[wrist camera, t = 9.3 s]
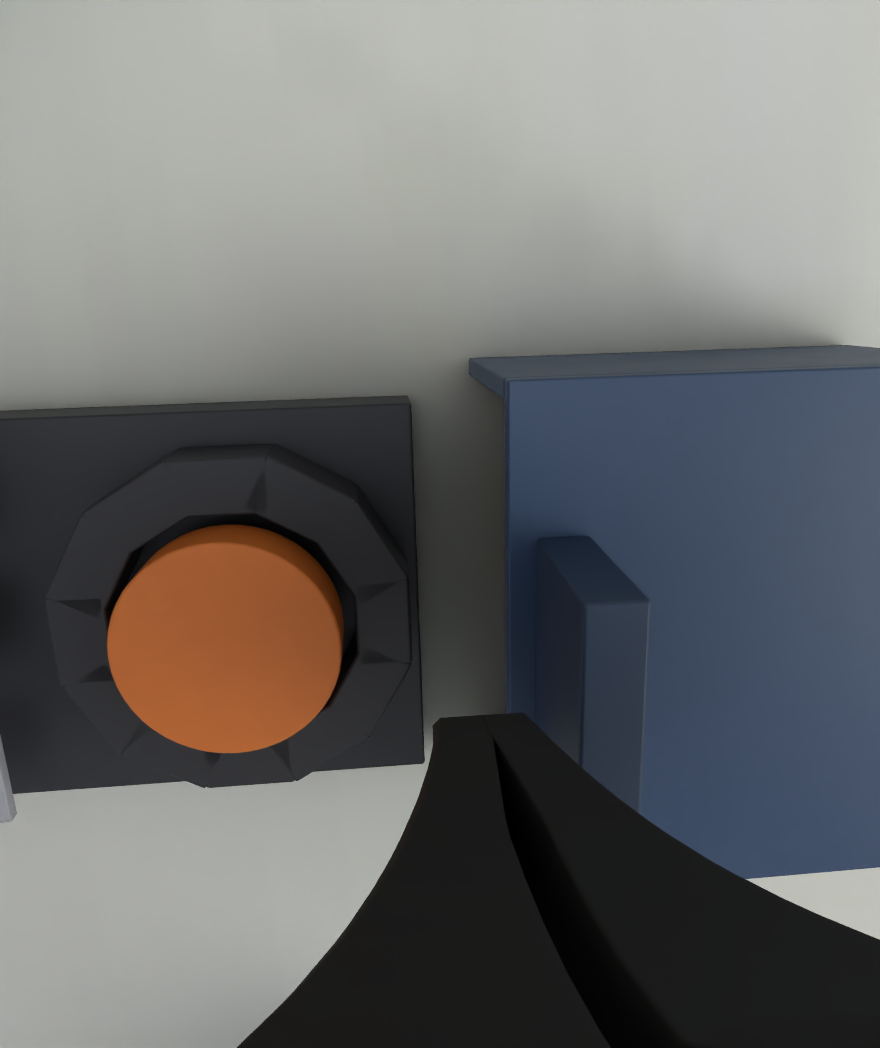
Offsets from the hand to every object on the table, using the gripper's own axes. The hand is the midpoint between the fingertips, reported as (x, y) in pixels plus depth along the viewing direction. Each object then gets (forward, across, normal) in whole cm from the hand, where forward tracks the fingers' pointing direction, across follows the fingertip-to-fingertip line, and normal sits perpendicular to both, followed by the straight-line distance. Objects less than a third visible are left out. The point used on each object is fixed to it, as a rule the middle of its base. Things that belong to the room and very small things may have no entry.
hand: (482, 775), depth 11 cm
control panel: (+9, +8, 0) cm, 12 cm away
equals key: (+6, +5, 0) cm, 8 cm away
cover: (+9, -6, 0) cm, 10 cm away
